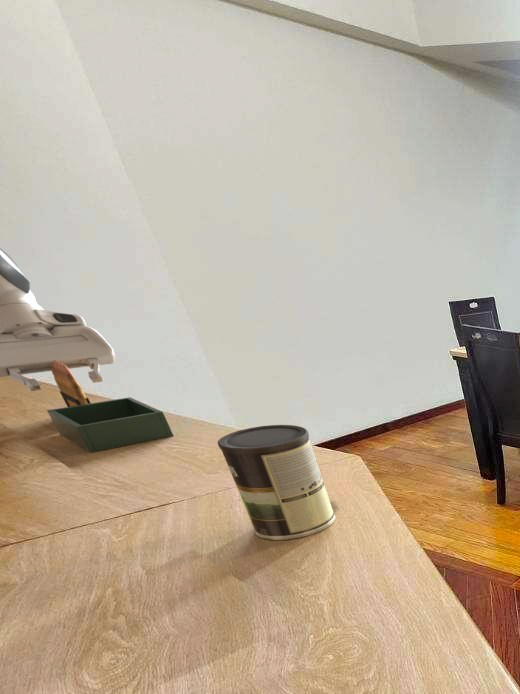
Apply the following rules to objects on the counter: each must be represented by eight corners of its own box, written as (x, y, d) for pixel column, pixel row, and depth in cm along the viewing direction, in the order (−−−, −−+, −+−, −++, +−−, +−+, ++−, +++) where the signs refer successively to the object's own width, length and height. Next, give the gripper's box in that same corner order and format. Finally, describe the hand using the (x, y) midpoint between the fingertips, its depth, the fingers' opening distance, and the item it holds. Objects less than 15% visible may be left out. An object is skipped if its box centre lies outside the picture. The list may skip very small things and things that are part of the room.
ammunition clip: (71, 414, 128) (41, 357, 122) (82, 412, 130) (53, 356, 124) (89, 424, 124) (58, 365, 118) (100, 422, 125) (71, 364, 119)
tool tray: (90, 452, 110) (76, 427, 108) (60, 434, 118) (46, 410, 115) (173, 435, 120) (162, 411, 117) (141, 420, 127) (130, 397, 124)
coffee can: (249, 546, 84) (209, 452, 76) (261, 516, 91) (225, 428, 84) (334, 533, 88) (303, 442, 81) (338, 505, 96) (310, 421, 89)
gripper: (-54, 324, 112) (-10, 384, 113) (90, 314, 128) (129, 367, 128) (-46, 345, 116) (-3, 403, 117) (93, 333, 132) (131, 384, 132)
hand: (67, 384), depth 123 cm, fingers open, 8 cm apart
